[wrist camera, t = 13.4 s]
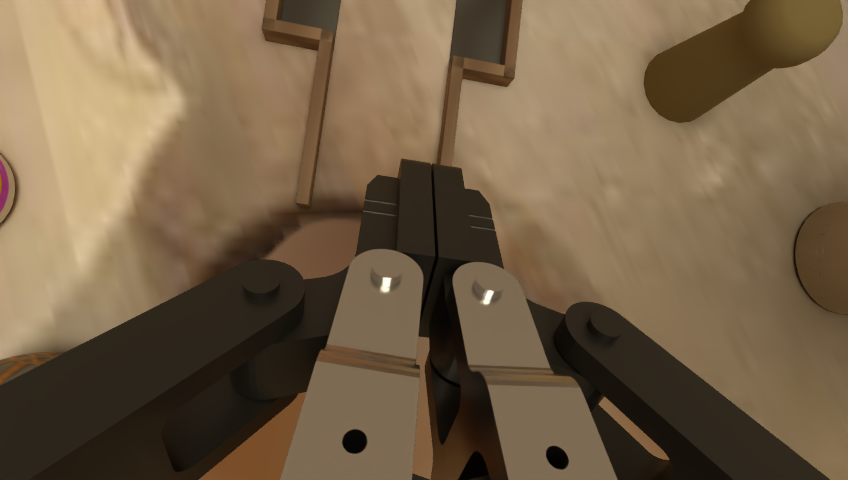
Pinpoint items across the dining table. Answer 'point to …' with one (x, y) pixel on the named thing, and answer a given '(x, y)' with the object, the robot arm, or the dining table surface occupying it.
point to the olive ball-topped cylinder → (739, 54)
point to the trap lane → (470, 59)
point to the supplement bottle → (6, 188)
